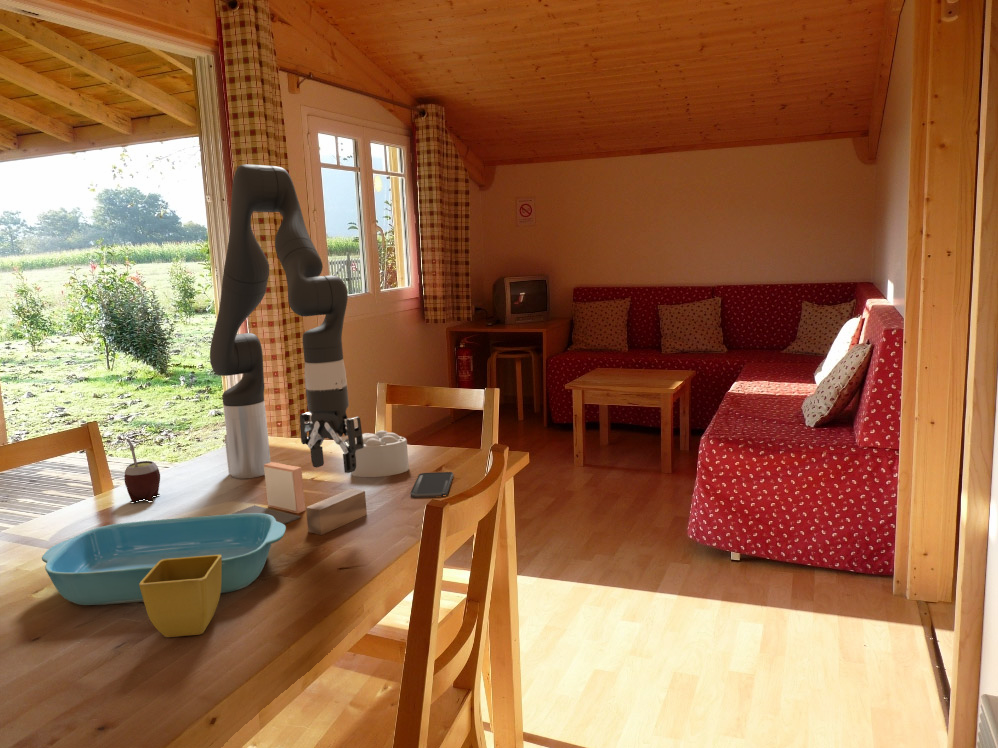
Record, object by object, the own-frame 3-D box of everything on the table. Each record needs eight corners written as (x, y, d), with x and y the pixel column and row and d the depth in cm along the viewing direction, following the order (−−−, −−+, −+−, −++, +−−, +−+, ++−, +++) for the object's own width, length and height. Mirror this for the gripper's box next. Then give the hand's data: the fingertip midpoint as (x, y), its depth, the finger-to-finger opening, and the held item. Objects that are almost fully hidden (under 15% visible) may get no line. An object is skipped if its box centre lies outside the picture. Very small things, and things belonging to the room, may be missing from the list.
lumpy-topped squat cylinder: (361, 464, 188) (358, 429, 187) (413, 463, 186) (411, 428, 185) (347, 477, 178) (344, 440, 176) (403, 476, 176) (400, 439, 175)
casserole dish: (296, 542, 140) (292, 504, 139) (279, 596, 118) (275, 552, 117) (79, 563, 135) (73, 524, 134) (20, 624, 113) (13, 578, 112)
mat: (219, 519, 153) (219, 518, 153) (254, 506, 160) (254, 505, 160) (265, 531, 145) (265, 530, 145) (300, 517, 152) (300, 516, 152)
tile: (267, 507, 160) (262, 464, 158) (276, 503, 162) (271, 462, 160) (296, 514, 155) (292, 470, 153) (305, 510, 156) (301, 467, 155)
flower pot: (167, 616, 113) (160, 558, 112) (229, 611, 114) (222, 553, 112) (146, 647, 105) (137, 584, 103) (212, 641, 105) (204, 578, 104)
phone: (409, 494, 161) (419, 472, 176) (409, 499, 161) (419, 477, 176) (447, 493, 160) (454, 471, 175) (447, 498, 161) (454, 476, 175)
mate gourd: (153, 492, 173) (145, 427, 171) (170, 498, 168) (162, 431, 166) (119, 501, 168) (110, 434, 165) (136, 508, 163) (126, 439, 160)
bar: (308, 532, 144) (305, 507, 144) (354, 512, 154) (351, 488, 153) (321, 536, 142) (319, 510, 142) (366, 515, 152) (364, 490, 151)
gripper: (284, 386, 145) (293, 470, 147) (338, 390, 137) (346, 479, 139) (315, 379, 151) (323, 460, 153) (368, 383, 143) (375, 468, 145)
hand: (334, 469), depth 146 cm, fingers open, 8 cm apart
